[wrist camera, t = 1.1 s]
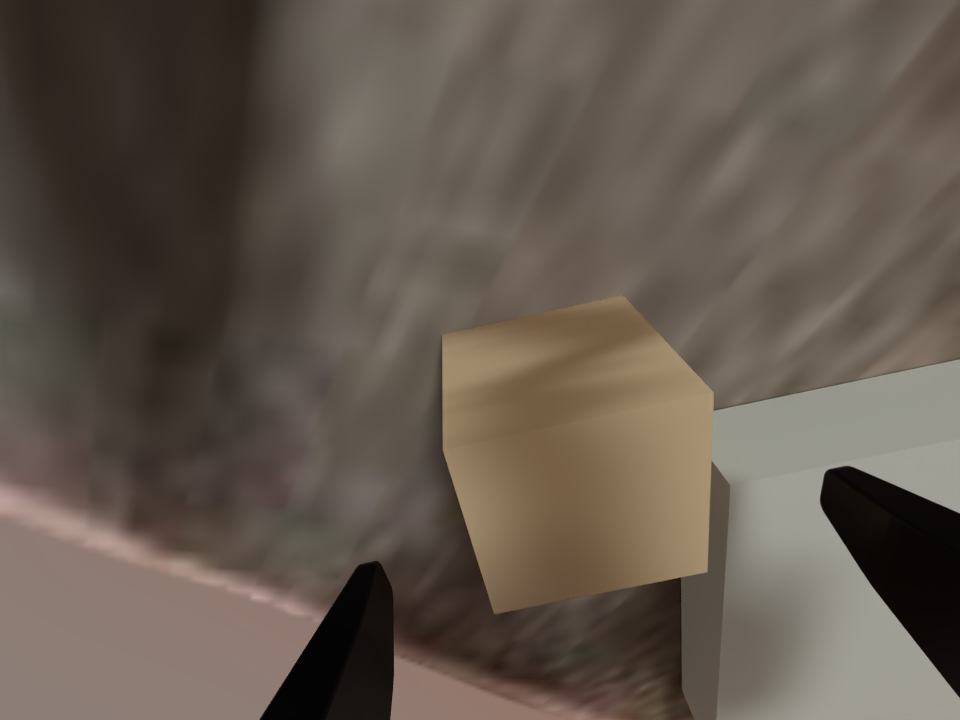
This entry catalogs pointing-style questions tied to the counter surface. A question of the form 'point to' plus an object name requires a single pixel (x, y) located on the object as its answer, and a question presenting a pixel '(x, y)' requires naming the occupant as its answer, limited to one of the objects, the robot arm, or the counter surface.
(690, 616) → the plinth
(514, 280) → the counter surface
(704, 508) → the pine cube
